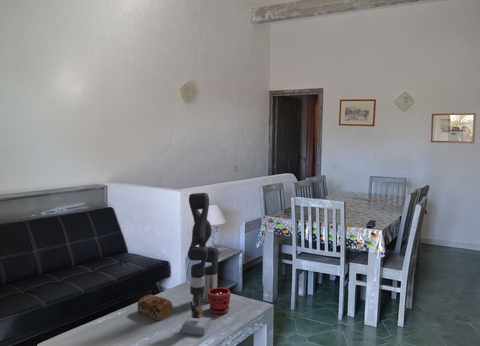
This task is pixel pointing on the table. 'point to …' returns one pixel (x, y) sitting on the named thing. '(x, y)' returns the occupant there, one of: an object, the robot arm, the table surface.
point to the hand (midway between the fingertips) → (196, 315)
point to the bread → (155, 307)
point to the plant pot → (219, 300)
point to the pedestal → (196, 326)
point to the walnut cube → (198, 312)
